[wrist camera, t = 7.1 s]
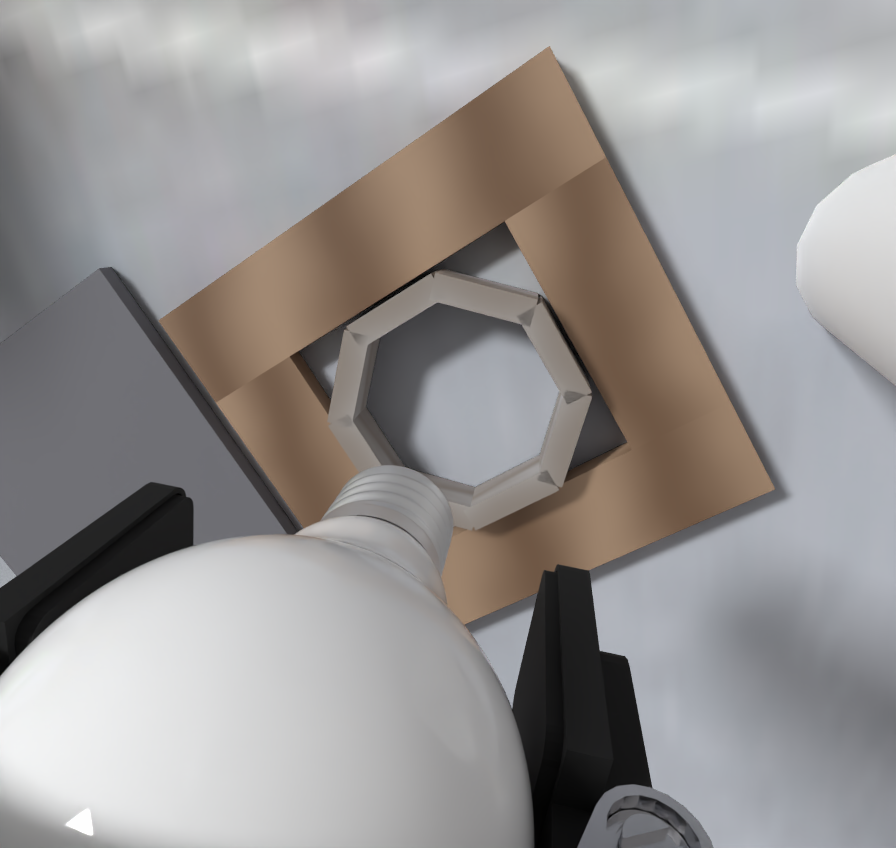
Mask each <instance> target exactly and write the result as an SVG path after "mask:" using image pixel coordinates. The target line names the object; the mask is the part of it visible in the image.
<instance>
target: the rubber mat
mask: <svg viewBox="0 0 896 848" xmlns="http://www.w3.org/2000/svg"><path fill="white" fill-rule="evenodd" d="M150 482H155V483H160V484H165V485H170V486H175V487H180V488H182V489H184V491H185V493H186V497H190V498H191V499H192V501H193V505H194V538H193V546H194V545H197V544H201V543H205V542H209V541H215V540H220V539H225V538H231V537H239V536H248V535H262V534H290V535H294V534H295V533H297V532H298V531H297V530H296V528H295V527H294V526H293V524H292V523H291V521H290V520H289V518H288V517H287V516H286V514H285V513H284V511H283V510H282V508H281V507H280V506H279V504H278V503H277V501H276V500H275V499H274V497H273V496H272V494H271V493H270V491H269V490H268V489H267V487H266V486H265V484H264V483H263V482H262V480H261V479H260V477H259V476H258V474H257V473H256V472H255V470H254V469H253V467H252V466H251V464H250V463H249V462H248V460H247V459H246V457H245V456H244V455H243V453H242V452H241V450H240V449H239V447H238V446H237V445H236V443H235V442H234V440H233V439H232V438H231V436H230V435H229V433H228V432H227V430H226V429H225V428H224V426H223V425H222V423H221V422H220V420H219V419H218V418H217V416H216V415H215V413H214V412H213V411H212V409H211V408H210V406H209V405H208V403H207V402H206V401H205V399H204V398H203V396H202V395H201V393H200V392H199V391H198V389H197V388H196V386H195V385H194V384H193V382H192V381H191V379H190V378H189V376H188V375H187V374H186V372H185V371H184V369H183V368H182V367H181V365H180V364H179V362H178V361H177V359H176V358H175V357H174V355H173V354H172V352H171V351H170V349H169V348H168V347H167V345H166V344H165V342H164V341H163V340H162V338H161V337H160V335H159V334H158V332H157V331H156V330H155V328H154V327H153V325H152V324H151V323H150V321H149V320H148V318H147V317H146V315H145V314H144V313H143V311H142V310H141V308H140V307H139V305H138V304H137V303H136V301H135V300H134V298H133V297H132V296H131V294H130V293H129V291H128V290H127V288H126V287H125V286H124V284H123V283H122V281H121V280H120V278H119V277H118V276H117V274H116V273H115V271H114V270H113V269H112V267H108V268H99V269H98V270H96V271H95V272H94V273H92V274H91V275H90V276H88V277H87V278H86V279H84V280H83V281H82V282H81V283H79V284H78V285H77V286H75V287H74V288H73V289H71V290H70V291H69V292H67V293H66V294H65V295H63V296H62V297H61V298H59V299H58V300H57V301H56V302H54V303H53V304H52V305H50V306H49V307H48V308H46V309H45V310H44V311H42V312H41V313H40V314H38V315H37V316H36V317H35V318H33V319H32V320H31V321H29V322H28V323H27V324H25V325H24V326H23V327H21V328H20V329H19V330H17V331H16V332H15V333H14V334H12V335H11V336H10V337H8V338H7V339H6V340H4V341H3V342H2V343H0V556H1V558H2V559H3V560H4V561H5V562H6V564H7V565H8V566H9V567H10V569H11V570H12V571H13V572H14V573H15V575H16V576H18V575H19V574H21V573H22V572H24V571H25V570H26V569H28V568H29V567H31V566H32V565H33V564H35V563H36V562H38V561H39V560H40V559H42V558H43V557H45V556H46V555H47V554H49V553H50V552H52V551H53V550H54V549H56V548H57V547H59V546H60V545H61V544H63V543H64V542H66V541H67V540H68V539H70V538H71V537H73V536H74V535H76V534H77V533H78V532H80V531H81V530H83V529H84V528H85V527H87V526H88V525H90V524H91V523H92V522H94V521H95V520H97V519H98V518H99V517H101V516H102V515H104V514H105V513H106V512H108V511H109V510H111V509H112V508H113V507H115V506H116V505H118V504H119V503H120V502H122V501H123V500H125V499H126V498H128V497H129V496H130V495H132V494H133V493H135V492H136V491H137V490H139V489H140V488H142V487H143V486H144V485H146V484H148V483H150Z"/></svg>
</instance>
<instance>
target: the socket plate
mask: <svg viewBox="0 0 896 848" xmlns="http://www.w3.org/2000/svg"><path fill="white" fill-rule="evenodd" d="M504 222H505V223H506V224H507V226H508V228H509V230H510V232H511V233H512V235H513V237H514V239H515V241H516V242H517V244H518V246H519V248H520V250H521V251H522V253H523V255H524V257H525V259H526V260H527V262H528V264H529V266H530V268H531V269H532V271H533V273H534V275H535V277H536V278H537V280H538V282H539V284H540V286H541V287H542V289H543V291H544V293H545V295H546V296H547V298H548V300H549V302H550V304H551V305H552V307H553V309H554V311H555V313H556V314H557V316H558V318H559V320H560V322H561V323H562V325H563V327H564V329H565V331H566V332H567V334H568V336H569V338H570V340H571V341H572V343H573V345H574V347H575V349H576V350H577V352H578V354H579V356H580V358H581V359H582V361H583V363H584V365H585V367H586V368H587V370H588V372H589V374H590V376H591V377H592V379H593V381H594V383H595V385H596V386H597V388H598V390H599V392H600V394H601V395H602V397H603V399H604V401H605V403H606V404H607V406H608V408H609V410H610V412H611V413H612V415H613V417H614V419H615V421H616V422H617V424H618V426H619V428H620V430H621V431H622V433H623V435H624V437H625V439H626V440H627V443H625V444H623V445H621V446H618V447H616V448H614V449H612V450H610V451H608V452H606V453H604V454H602V455H600V456H598V457H596V458H594V459H592V460H590V461H588V462H586V463H584V464H582V465H580V466H577V467H575V468H573V469H571V470H569V471H568V468H569V465H570V462H571V459H572V456H573V453H574V450H575V447H576V444H577V441H578V438H579V435H580V432H581V429H582V426H583V423H584V420H585V417H586V414H587V411H588V408H589V405H590V402H591V399H592V394H591V393H592V391H591V388H590V384H589V381H588V378H587V376H586V375H585V373H584V371H583V369H582V367H581V366H580V364H579V362H578V360H577V358H576V357H575V355H574V353H573V351H572V350H571V348H570V346H569V344H568V342H567V341H566V339H565V337H564V335H563V333H562V332H561V330H560V328H559V326H558V324H557V323H556V321H555V319H554V317H553V315H552V314H551V312H550V310H549V308H548V306H547V305H546V303H545V301H544V299H543V298H542V296H540V297H539V298H538V293H535V292H531V291H528V290H524V289H520V288H516V287H512V286H508V285H505V284H501V283H497V282H493V281H489V280H485V279H482V278H478V277H474V276H470V275H466V274H463V273H459V272H455V271H451V270H447V269H441V270H440V269H439V270H437V271H435V272H433V273H431V274H429V275H427V276H426V277H424V278H423V279H421V280H419V281H418V282H416V283H415V284H413V285H411V286H410V287H408V288H407V289H405V290H403V291H402V292H400V293H399V294H397V295H395V296H394V297H392V298H391V299H389V300H388V301H386V302H384V303H383V304H381V305H380V306H378V307H376V308H375V309H373V310H372V311H370V312H368V313H367V314H365V315H364V316H362V317H360V318H359V319H357V320H356V321H354V322H352V323H351V324H349V325H348V326H346V327H347V328H346V329H344V333H343V338H342V343H341V349H340V354H339V360H338V365H337V371H336V376H335V382H334V387H333V392H332V398H331V400H330V399H329V397H328V396H327V394H326V393H325V391H324V390H323V388H322V387H321V385H320V384H319V382H318V381H317V379H316V378H315V376H314V374H313V373H312V371H311V370H310V368H309V367H308V365H307V364H306V362H305V361H304V359H303V358H302V356H301V355H300V353H299V351H300V350H302V349H303V348H305V347H306V346H308V345H310V344H311V343H313V342H314V341H316V340H318V339H319V338H321V337H322V336H324V335H326V334H327V333H329V332H330V331H332V330H334V329H335V328H337V327H338V326H340V325H341V324H343V323H345V322H346V321H348V320H349V319H351V318H353V317H354V316H356V315H357V314H359V313H361V312H362V311H364V310H365V309H367V308H368V307H370V306H372V305H373V304H375V303H376V302H378V301H380V300H381V299H383V298H384V297H386V296H388V295H389V294H391V293H392V292H394V291H395V290H397V289H399V288H400V287H402V286H403V285H405V284H407V283H408V282H410V281H411V280H413V279H415V278H416V277H418V276H419V275H421V274H422V273H424V272H426V271H427V270H429V269H430V268H432V267H434V266H435V265H437V264H438V263H440V262H442V261H443V260H445V259H446V258H448V257H450V256H451V255H453V254H454V253H456V252H457V251H459V250H461V249H462V248H464V247H465V246H467V245H469V244H470V243H472V242H473V241H475V240H477V239H478V238H480V237H481V236H483V235H484V234H486V233H488V232H489V231H491V230H492V229H494V228H496V227H497V226H499V225H500V224H502V223H504ZM437 302H439V303H442V304H446V305H450V306H454V307H458V308H461V309H465V310H469V311H473V312H476V313H480V314H484V315H488V316H492V317H495V318H499V319H503V320H507V321H510V322H514V323H518V324H522V326H523V328H524V330H525V331H526V333H527V335H528V337H529V338H530V340H531V342H532V344H533V345H534V347H535V349H536V351H537V352H538V354H539V356H540V358H541V359H542V361H543V363H544V365H545V367H546V368H547V370H548V372H549V374H550V375H551V377H552V379H553V381H554V382H555V384H556V386H557V388H558V389H559V394H558V398H557V401H556V404H555V407H554V410H553V414H552V417H551V420H550V423H549V426H548V430H547V433H546V436H545V439H544V442H543V445H542V449H541V452H540V455H538V456H536V457H534V458H532V459H530V460H528V461H526V462H524V463H522V464H520V465H518V466H516V467H514V468H512V469H510V470H508V471H506V472H504V473H502V474H500V475H498V476H496V477H494V478H492V479H490V480H488V481H486V482H484V483H482V484H480V485H478V486H476V487H473V486H469V485H466V484H462V483H458V482H455V481H451V480H448V479H444V478H441V477H437V476H433V475H430V474H426V473H423V472H419V471H417V472H419V473H421V474H423V475H424V476H426V477H427V478H428V479H430V480H431V481H432V482H433V483H434V484H436V486H437V487H438V488H439V489H440V490H441V491H442V493H443V494H444V495H445V497H446V499H447V501H448V503H449V505H450V508H451V511H452V515H453V526H454V527H453V534H452V538H451V543H450V547H449V549H448V554H447V558H446V560H445V565H444V569H443V571H442V576H441V578H442V581H443V584H444V588H445V592H446V597H447V603H448V607H449V608H450V609H451V610H452V611H453V612H454V613H455V614H456V615H457V617H458V618H459V619H460V620H461V621H462V623H463V624H467V623H469V622H471V621H473V620H476V619H478V618H480V617H483V616H485V615H487V614H490V613H492V612H494V611H496V610H499V609H501V608H503V607H506V606H508V605H510V604H513V603H515V602H517V601H519V600H522V599H524V598H526V597H529V596H531V595H533V594H536V593H538V590H539V586H540V582H541V578H542V574H543V571H544V570H547V571H552V572H554V571H555V568H556V566H557V564H559V565H564V566H569V567H574V568H579V569H584V570H591V569H593V568H595V567H598V566H600V565H602V564H605V563H607V562H609V561H611V560H614V559H616V558H618V557H621V556H623V555H625V554H628V553H630V552H632V551H634V550H637V549H639V548H641V547H644V546H646V545H648V544H651V543H653V542H655V541H657V540H660V539H662V538H664V537H667V536H669V535H671V534H674V533H676V532H678V531H680V530H683V529H685V528H687V527H690V526H692V525H694V524H697V523H699V522H701V521H703V520H706V519H708V518H710V517H713V516H715V515H717V514H720V513H722V512H724V511H726V510H729V509H731V508H733V507H736V506H738V505H740V504H742V503H745V502H747V501H749V500H752V499H754V498H756V497H759V496H761V495H763V494H765V493H768V492H770V491H772V490H775V488H774V486H773V484H772V482H771V480H770V478H769V476H768V474H767V472H766V470H765V468H764V466H763V464H762V462H761V460H760V458H759V456H758V454H757V452H756V451H755V449H754V447H753V445H752V443H751V441H750V439H749V437H748V435H747V433H746V431H745V429H744V427H743V425H742V423H741V421H740V419H739V417H738V415H737V413H736V411H735V409H734V407H733V405H732V403H731V401H730V399H729V397H728V396H727V394H726V392H725V390H724V388H723V386H722V384H721V382H720V380H719V378H718V376H717V374H716V372H715V370H714V368H713V366H712V364H711V362H710V360H709V358H708V356H707V354H706V352H705V350H704V348H703V346H702V344H701V343H700V341H699V339H698V337H697V335H696V333H695V331H694V329H693V327H692V325H691V323H690V321H689V319H688V317H687V315H686V313H685V311H684V309H683V307H682V305H681V303H680V301H679V299H678V297H677V295H676V293H675V291H674V289H673V288H672V286H671V284H670V282H669V280H668V278H667V276H666V274H665V272H664V270H663V268H662V266H661V264H660V262H659V260H658V258H657V256H656V254H655V252H654V250H653V248H652V246H651V244H650V242H649V240H648V238H647V236H646V235H645V233H644V231H643V229H642V227H641V225H640V223H639V221H638V219H637V217H636V215H635V213H634V211H633V209H632V207H631V205H630V203H629V201H628V199H627V197H626V195H625V193H624V191H623V189H622V187H621V185H620V183H619V181H618V180H617V178H616V176H615V174H614V172H613V170H612V168H611V166H610V164H609V162H608V160H607V158H606V156H605V154H604V152H603V150H602V148H601V146H600V144H599V142H598V140H597V138H596V136H595V134H594V132H593V130H592V128H591V127H590V125H589V123H588V121H587V119H586V117H585V115H584V113H583V111H582V109H581V107H580V105H579V103H578V101H577V99H576V97H575V95H574V93H573V91H572V89H571V87H570V85H569V83H568V81H567V79H566V77H565V75H564V73H563V72H562V70H561V68H560V66H559V64H558V62H557V60H556V58H555V56H554V54H553V52H552V50H551V48H550V46H549V47H547V48H546V49H545V50H543V51H542V52H540V53H539V54H537V55H536V56H535V57H533V58H532V59H530V60H529V61H527V62H526V63H525V64H523V65H522V66H520V67H519V68H518V69H516V70H515V71H513V72H512V73H510V74H509V75H508V76H506V77H505V78H503V79H502V80H500V81H499V82H498V83H496V84H495V85H493V86H492V87H490V88H489V89H488V90H486V91H485V92H483V93H482V94H480V95H479V96H478V97H476V98H475V99H473V100H472V101H471V102H469V103H468V104H466V105H465V106H463V107H462V108H461V109H459V110H458V111H456V112H455V113H453V114H452V115H451V116H449V117H448V118H446V119H445V120H443V121H442V122H441V123H439V124H438V125H436V126H435V127H433V128H432V129H431V130H429V131H428V132H426V133H425V134H424V135H422V136H421V137H419V138H418V139H416V140H415V141H414V142H412V143H411V144H409V145H408V146H406V147H405V148H404V149H402V150H401V151H399V152H398V153H396V154H395V155H394V156H392V157H391V158H389V159H388V160H386V161H385V162H384V163H382V164H381V165H379V166H378V167H377V168H375V169H374V170H372V171H371V172H369V173H368V174H367V175H365V176H364V177H362V178H361V179H359V180H358V181H357V182H355V183H354V184H352V185H351V186H349V187H348V188H347V189H345V190H344V191H342V192H341V193H339V194H338V195H337V196H335V197H334V198H332V199H331V200H330V201H328V202H327V203H325V204H324V205H322V206H321V207H320V208H318V209H317V210H315V211H314V212H312V213H311V214H310V215H308V216H307V217H305V218H304V219H302V220H301V221H300V222H298V223H297V224H295V225H294V226H292V227H291V228H290V229H288V230H287V231H285V232H284V233H283V234H281V235H280V236H278V237H277V238H275V239H274V240H273V241H271V242H270V243H268V244H267V245H265V246H264V247H263V248H261V249H260V250H258V251H257V252H255V253H254V254H253V255H251V256H250V257H248V258H247V259H245V260H244V261H243V262H241V263H240V264H238V265H237V266H236V267H234V268H233V269H231V270H230V271H228V272H227V273H226V274H224V275H223V276H221V277H220V278H218V279H217V280H216V281H214V282H213V283H211V284H210V285H208V286H207V287H206V288H204V289H203V290H201V291H200V292H198V293H197V294H196V295H194V296H193V297H191V298H190V299H189V300H187V301H186V302H184V303H183V304H181V305H180V306H179V307H177V308H176V309H174V310H173V311H171V312H170V313H169V314H167V315H166V316H164V317H163V318H161V319H160V320H159V322H160V324H161V325H162V327H163V328H164V329H165V331H166V332H167V334H168V335H169V337H170V338H171V339H172V341H173V342H174V344H175V345H176V347H177V348H178V349H179V351H180V352H181V354H182V355H183V357H184V358H185V359H186V361H187V362H188V364H189V365H190V367H191V368H192V369H193V371H194V372H195V374H196V375H197V377H198V378H199V379H200V381H201V382H202V384H203V385H204V387H205V388H206V389H207V391H208V392H209V394H210V395H211V397H212V398H213V399H214V401H215V402H216V404H217V405H218V407H219V408H220V409H221V411H222V412H223V414H224V415H225V417H226V418H227V419H228V421H229V422H230V424H231V425H232V426H233V428H234V429H235V431H236V432H237V434H238V435H239V436H240V438H241V439H242V441H243V442H244V444H245V445H246V446H247V448H248V449H249V451H250V452H251V454H252V455H253V456H254V458H255V459H256V461H257V462H258V464H259V465H260V466H261V468H262V469H263V471H264V472H265V474H266V475H267V476H268V478H269V479H270V481H271V482H272V484H273V485H274V486H275V488H276V489H277V491H278V492H279V494H280V495H281V496H282V498H283V499H284V501H285V502H286V504H287V505H288V506H289V508H290V509H291V511H292V512H293V513H294V515H295V516H296V518H297V519H298V521H299V522H300V523H301V525H302V526H303V528H306V527H308V526H310V525H312V524H314V523H317V522H319V521H321V519H322V518H323V516H324V514H325V513H326V512H327V511H328V509H329V507H330V506H331V505H332V503H333V502H334V500H335V499H336V497H337V496H338V495H339V493H340V491H341V490H342V488H343V487H344V486H345V484H346V483H347V482H348V481H349V480H350V479H351V478H352V477H354V476H355V475H357V474H358V473H360V472H362V471H364V470H366V469H369V468H372V467H376V466H383V465H395V466H402V467H404V465H403V463H402V462H401V460H400V459H399V457H398V456H397V454H396V453H395V451H394V450H393V448H392V446H391V445H390V443H389V442H388V440H387V439H386V437H385V436H384V434H383V433H382V431H381V429H380V428H379V426H378V425H377V423H376V422H375V420H374V419H373V417H372V415H371V414H370V412H369V411H368V409H367V408H366V404H367V399H368V394H369V389H370V384H371V379H372V375H373V370H374V365H375V360H376V355H377V350H378V345H379V340H380V337H381V336H383V335H385V334H386V333H388V332H390V331H391V330H393V329H395V328H396V327H398V326H399V325H401V324H403V323H404V322H406V321H408V320H409V319H411V318H413V317H414V316H416V315H418V314H419V313H421V312H422V311H424V310H426V309H427V308H429V307H431V306H432V305H434V304H436V303H437ZM415 471H416V470H415Z"/></svg>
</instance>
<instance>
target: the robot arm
mask: <svg viewBox="0 0 896 848" xmlns="http://www.w3.org/2000/svg"><path fill="white" fill-rule="evenodd" d="M193 538H194V505H193V501H192V499H191V498H190V497H186V493H185V491H184V489H182V488H180V487H175V486H170V485H165V484H160V483H155V482H150V483H148V484H146V485H144V486H143V487H142V488H140V489H139V490H137V491H136V492H135V493H133V494H132V495H130V496H129V497H128V498H126V499H125V500H123V501H122V502H120V503H119V504H118V505H116V506H115V507H113V508H112V509H111V510H109V511H108V512H106V513H105V514H104V515H102V516H101V517H99V518H98V519H97V520H95V521H94V522H92V523H91V524H90V525H88V526H87V527H85V528H84V529H83V530H81V531H80V532H78V533H77V534H76V535H74V536H73V537H71V538H70V539H68V540H67V541H66V542H64V543H63V544H61V545H60V546H59V547H57V548H56V549H54V550H53V551H52V552H50V553H49V554H47V555H46V556H45V557H43V558H42V559H40V560H39V561H38V562H36V563H35V564H33V565H32V566H31V567H29V568H28V569H26V570H25V571H24V572H22V573H21V574H19V575H18V576H16V577H15V578H14V579H12V580H11V581H9V582H8V583H7V584H5V585H4V586H2V587H1V588H0V675H1V674H2V673H3V672H4V671H5V670H6V668H7V667H8V666H9V665H10V664H11V663H12V662H13V661H14V659H15V658H16V657H17V656H18V655H19V654H20V653H21V652H22V651H23V650H24V649H25V648H26V647H27V646H28V645H29V644H30V643H31V642H32V641H33V640H34V639H35V638H36V637H37V636H38V635H39V634H40V633H41V632H43V631H44V630H45V629H46V628H47V627H48V626H49V625H50V624H52V623H53V622H54V621H55V620H56V619H57V618H59V617H60V616H61V615H62V614H64V613H65V612H66V611H67V610H69V609H70V608H71V607H73V606H74V605H75V604H77V603H78V602H79V601H81V600H82V599H83V598H85V597H86V596H88V595H89V594H91V593H92V592H94V591H95V590H97V589H99V588H100V587H102V586H103V585H105V584H107V583H108V582H110V581H112V580H113V579H115V578H117V577H119V576H120V575H122V574H124V573H126V572H128V571H130V570H132V569H134V568H136V567H138V566H140V565H142V564H144V563H147V562H149V561H151V560H154V559H156V558H158V557H161V556H163V555H166V554H169V553H172V552H175V551H177V550H180V549H184V548H187V547H190V546H193ZM512 710H513V713H514V716H515V719H516V722H517V725H518V728H519V732H520V735H521V738H522V742H523V747H524V751H525V755H526V759H527V765H528V770H529V776H530V782H531V790H532V799H533V810H534V832H535V848H713V845H712V842H711V840H710V838H709V836H708V835H707V833H706V832H705V830H704V828H703V827H702V825H701V824H700V822H699V821H698V820H697V819H696V818H695V817H694V816H693V815H692V814H691V813H690V812H689V811H688V810H687V809H686V808H685V807H684V806H683V805H681V804H680V803H679V802H677V801H676V800H674V799H673V798H671V797H670V796H669V795H667V794H664V793H662V792H660V791H657V790H655V789H653V788H652V784H651V778H650V773H649V768H648V762H647V757H646V752H645V746H644V741H643V736H642V730H641V725H640V720H639V714H638V709H637V704H636V698H635V693H634V688H633V682H632V677H631V672H630V667H629V663H628V660H627V658H626V657H625V656H621V655H616V654H612V653H607V652H602V651H600V650H599V643H598V635H597V627H596V619H595V611H594V603H593V595H592V588H591V580H590V573H589V571H588V570H584V569H579V568H574V567H569V566H564V565H559V564H557V566H556V568H555V571H554V572H552V571H547V570H544V571H543V574H542V578H541V582H540V586H539V590H538V595H537V599H536V603H535V608H534V612H533V616H532V620H531V625H530V629H529V633H528V638H527V642H526V646H525V650H524V655H523V659H522V663H521V668H520V672H519V676H518V680H517V685H516V689H515V694H514V700H513V708H512Z"/></svg>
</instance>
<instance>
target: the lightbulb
mask: <svg viewBox="0 0 896 848" xmlns="http://www.w3.org/2000/svg"><path fill="white" fill-rule="evenodd" d="M452 534H453V515H452V511H451V508H450V505H449V503H448V501H447V499H446V497H445V495H444V494H443V493H442V491H441V490H440V489H439V488H438V487H437V486H436V484H434V483H433V482H432V481H431V480H430V479H428V478H427V477H426V476H424V475H423V474H421V473H419V472H417V471H415V470H412V469H409V468H406V467H402V466H395V465H383V466H376V467H372V468H369V469H366V470H364V471H362V472H360V473H358V474H357V475H355V476H354V477H352V478H351V479H350V480H349V481H348V482H347V483H346V484H345V486H344V487H343V488H342V490H341V491H340V493H339V495H338V496H337V497H336V499H335V500H334V502H333V503H332V505H331V506H330V507H329V509H328V511H327V512H326V513H325V514H324V516H323V518H322V519H321V521H319V522H317V523H314V524H312V525H310V526H308V527H306V528H304V529H302V530H300V531H299V532H297V533H295V534H294V535H290V534H262V535H248V536H239V537H231V538H225V539H220V540H215V541H209V542H205V543H201V544H197V545H194V546H190V547H187V548H184V549H180V550H177V551H175V552H172V553H169V554H166V555H163V556H161V557H158V558H156V559H154V560H151V561H149V562H147V563H144V564H142V565H140V566H138V567H136V568H134V569H132V570H130V571H128V572H126V573H124V574H122V575H120V576H119V577H117V578H115V579H113V580H112V581H110V582H108V583H107V584H105V585H103V586H102V587H100V588H99V589H97V590H95V591H94V592H92V593H91V594H89V595H88V596H86V597H85V598H83V599H82V600H81V601H79V602H78V603H77V604H75V605H74V606H73V607H71V608H70V609H69V610H67V611H66V612H65V613H64V614H62V615H61V616H60V617H59V618H57V619H56V620H55V621H54V622H53V623H52V624H50V625H49V626H48V627H47V628H46V629H45V630H44V631H43V632H41V633H40V634H39V635H38V636H37V637H36V638H35V639H34V640H33V641H32V642H31V643H30V644H29V645H28V646H27V647H26V648H25V649H24V650H23V651H22V652H21V653H20V654H19V655H18V656H17V657H16V658H15V659H14V661H13V662H12V663H11V664H10V665H9V666H8V667H7V668H6V670H5V671H4V672H3V673H2V674H1V675H0V848H535V832H534V810H533V799H532V790H531V782H530V776H529V770H528V765H527V759H526V755H525V751H524V747H523V742H522V738H521V735H520V732H519V728H518V725H517V722H516V719H515V716H514V713H513V710H512V708H511V705H510V703H509V700H508V698H507V695H506V693H505V691H504V689H503V686H502V684H501V682H500V680H499V678H498V676H497V674H496V672H495V671H494V669H493V667H492V665H491V663H490V662H489V660H488V658H487V656H486V655H485V653H484V652H483V650H482V649H481V647H480V645H479V644H478V643H477V641H476V640H475V638H474V637H473V635H472V634H471V633H470V631H469V630H468V629H467V628H466V626H465V625H464V624H463V623H462V621H461V620H460V619H459V618H458V617H457V615H456V614H455V613H454V612H453V611H452V610H451V609H450V608H449V607H448V603H447V597H446V592H445V588H444V584H443V581H442V578H441V576H442V571H443V569H444V565H445V560H446V558H447V554H448V549H449V547H450V543H451V538H452Z"/></svg>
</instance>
